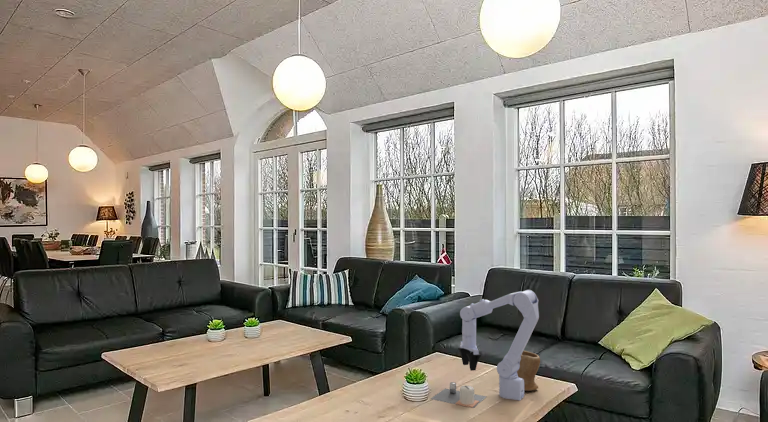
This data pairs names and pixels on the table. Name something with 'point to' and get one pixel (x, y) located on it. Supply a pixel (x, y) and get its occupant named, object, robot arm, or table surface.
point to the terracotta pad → (467, 405)
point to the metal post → (452, 388)
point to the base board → (454, 397)
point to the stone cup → (529, 369)
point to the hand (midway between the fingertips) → (469, 367)
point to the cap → (467, 395)
